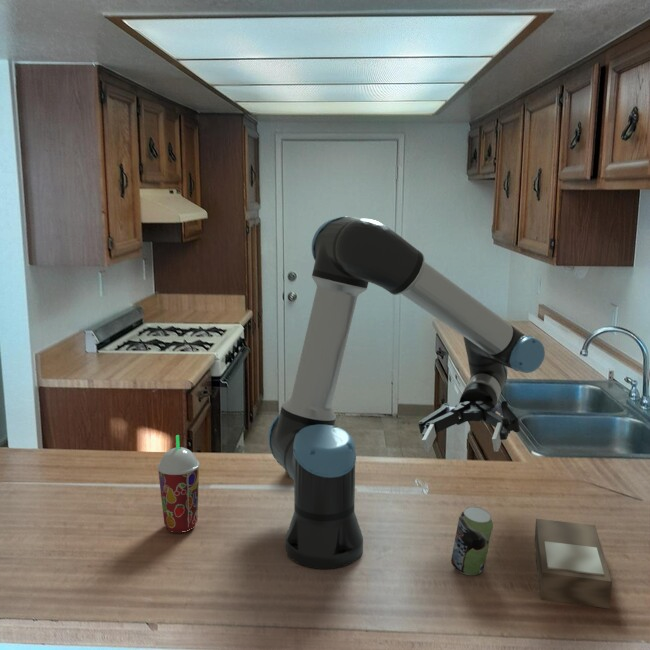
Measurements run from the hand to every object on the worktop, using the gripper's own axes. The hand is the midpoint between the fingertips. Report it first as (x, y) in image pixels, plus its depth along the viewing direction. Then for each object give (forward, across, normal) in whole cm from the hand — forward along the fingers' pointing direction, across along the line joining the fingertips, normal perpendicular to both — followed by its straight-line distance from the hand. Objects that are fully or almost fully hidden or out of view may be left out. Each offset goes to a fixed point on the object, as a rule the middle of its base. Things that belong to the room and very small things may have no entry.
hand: (459, 445), depth 128 cm
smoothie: (+18, +56, -9) cm, 60 cm away
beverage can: (+11, -1, -20) cm, 23 cm away
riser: (+4, -17, -24) cm, 30 cm away
